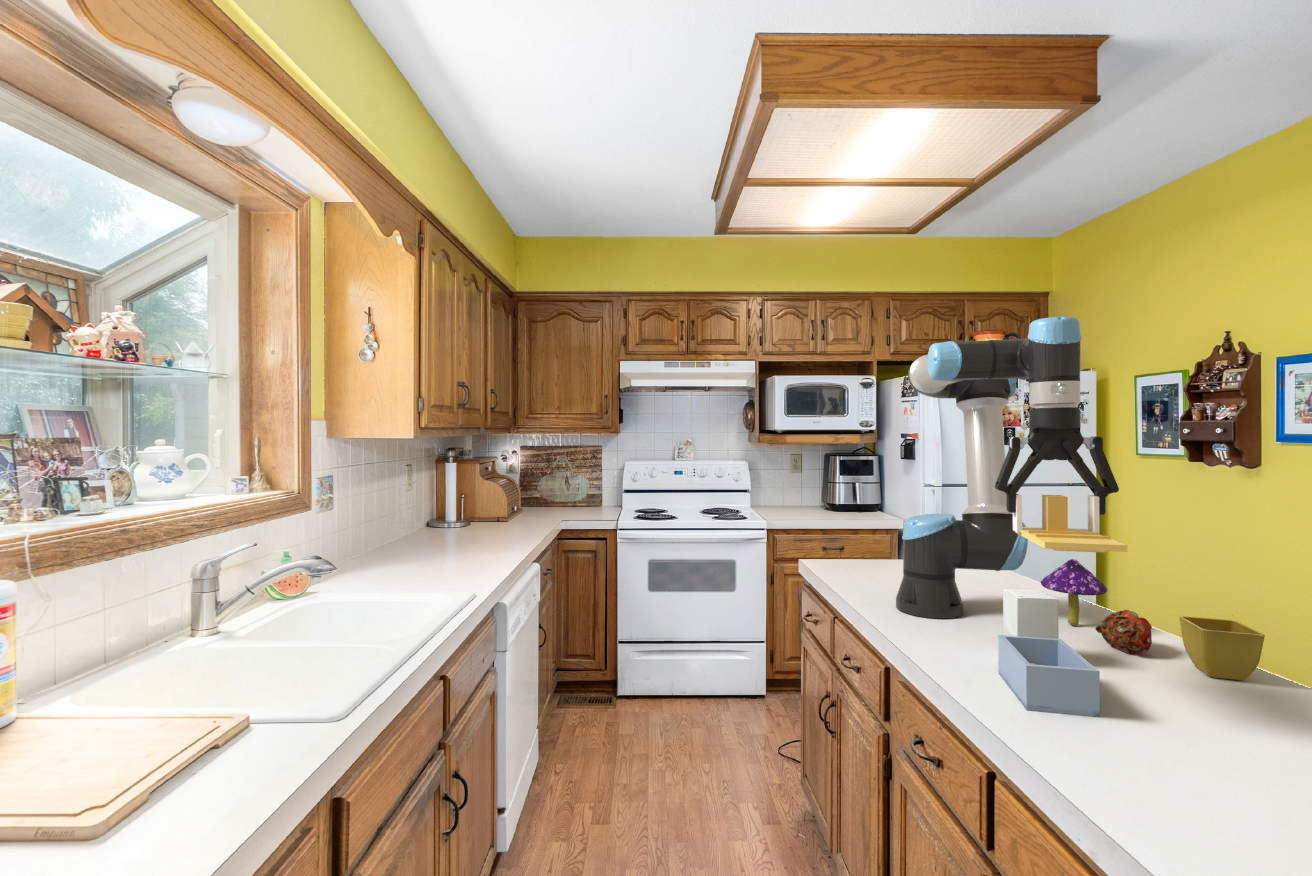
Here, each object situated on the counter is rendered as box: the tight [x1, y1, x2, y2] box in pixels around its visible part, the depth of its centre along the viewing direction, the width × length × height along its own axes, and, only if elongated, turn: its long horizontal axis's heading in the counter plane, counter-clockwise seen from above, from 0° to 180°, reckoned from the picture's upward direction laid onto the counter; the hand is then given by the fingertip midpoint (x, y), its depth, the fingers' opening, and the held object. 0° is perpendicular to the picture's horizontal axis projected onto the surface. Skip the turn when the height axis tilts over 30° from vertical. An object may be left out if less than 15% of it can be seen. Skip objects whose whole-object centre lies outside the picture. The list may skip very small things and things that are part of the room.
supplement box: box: [1002, 588, 1060, 639], centre depth 118 cm, size 7×7×13 cm
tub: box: [997, 634, 1101, 718], centre depth 102 cm, size 15×10×7 cm, turn 165°
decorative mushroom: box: [1040, 558, 1108, 627], centre depth 137 cm, size 12×12×15 cm
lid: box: [1015, 494, 1128, 553], centre depth 101 cm, size 16×11×8 cm
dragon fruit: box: [1095, 609, 1153, 654], centre depth 122 cm, size 8×8×12 cm
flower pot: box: [1178, 615, 1266, 681], centre depth 109 cm, size 9×9×9 cm
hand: (1054, 532), depth 107 cm, fingers closed on lid, 11 cm apart
